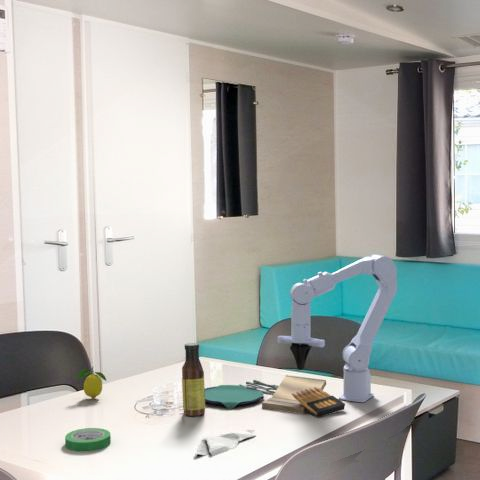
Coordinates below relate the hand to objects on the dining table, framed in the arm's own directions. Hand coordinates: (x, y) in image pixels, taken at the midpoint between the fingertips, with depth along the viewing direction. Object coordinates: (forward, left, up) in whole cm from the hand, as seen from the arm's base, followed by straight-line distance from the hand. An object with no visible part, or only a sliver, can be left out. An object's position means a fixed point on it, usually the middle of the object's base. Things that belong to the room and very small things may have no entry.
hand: (300, 368), depth 233 cm
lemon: (+28, -56, -10) cm, 63 cm away
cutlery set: (+4, -18, -10) cm, 21 cm away
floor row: (+10, 0, -9) cm, 14 cm away
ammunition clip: (+10, +14, -8) cm, 19 cm away
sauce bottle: (+27, -21, -10) cm, 36 cm away
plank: (+1, 0, -7) cm, 7 cm away
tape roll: (+61, -31, -10) cm, 69 cm away
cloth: (+45, -2, -10) cm, 46 cm away
